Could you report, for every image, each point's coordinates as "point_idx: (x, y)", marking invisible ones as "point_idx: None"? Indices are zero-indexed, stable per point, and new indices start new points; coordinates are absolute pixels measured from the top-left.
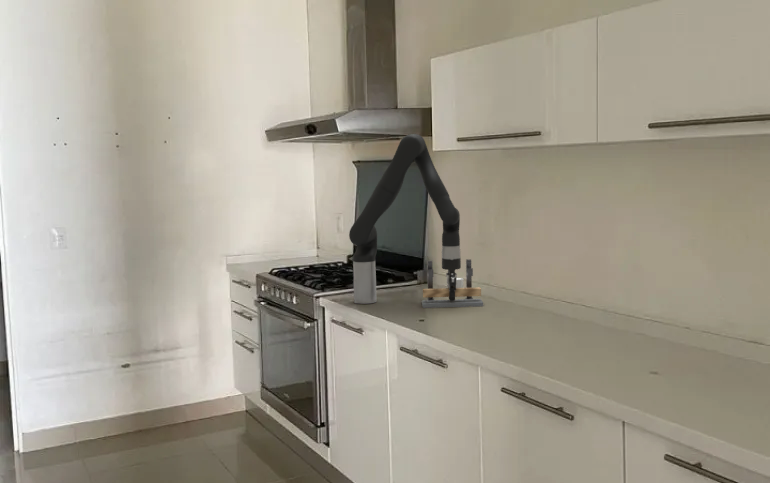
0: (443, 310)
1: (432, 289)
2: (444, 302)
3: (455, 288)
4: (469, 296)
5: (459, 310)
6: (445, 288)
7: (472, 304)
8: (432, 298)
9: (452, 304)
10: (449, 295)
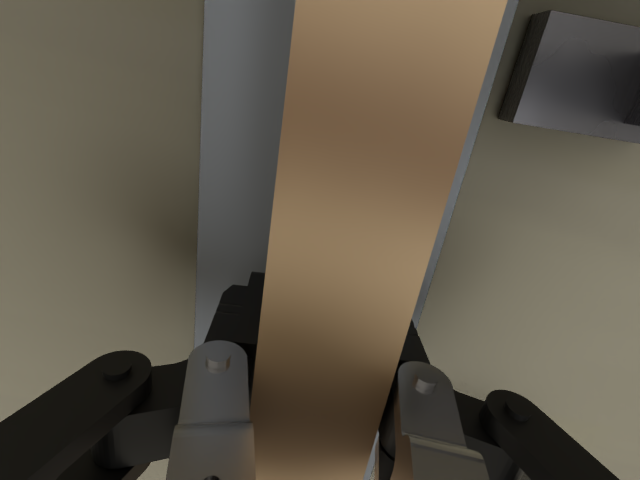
0: (11, 113)
1: (363, 23)
2: (267, 198)
3: (76, 463)
4: None
5: (14, 276)
6: (383, 331)
7: None
8: (636, 116)
9: (200, 267)
10: (244, 303)
